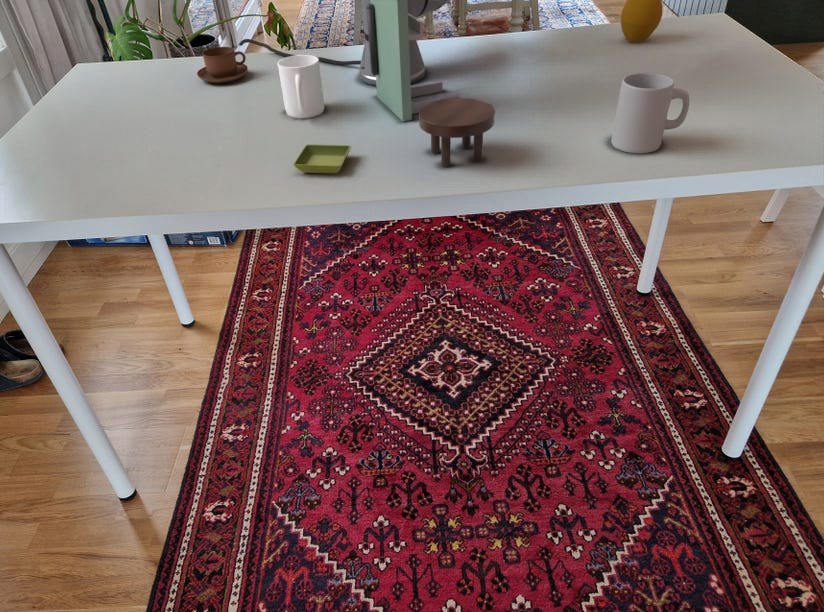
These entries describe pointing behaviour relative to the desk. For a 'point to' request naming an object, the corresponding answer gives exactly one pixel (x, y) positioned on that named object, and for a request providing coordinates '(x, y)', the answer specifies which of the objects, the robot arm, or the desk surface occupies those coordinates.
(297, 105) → the cup
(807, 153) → the desk surface
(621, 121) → the mug
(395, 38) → the mint green upright panel
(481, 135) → the stool
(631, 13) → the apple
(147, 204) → the desk surface
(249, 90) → the desk surface
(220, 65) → the cup and saucer
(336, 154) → the green square dish
